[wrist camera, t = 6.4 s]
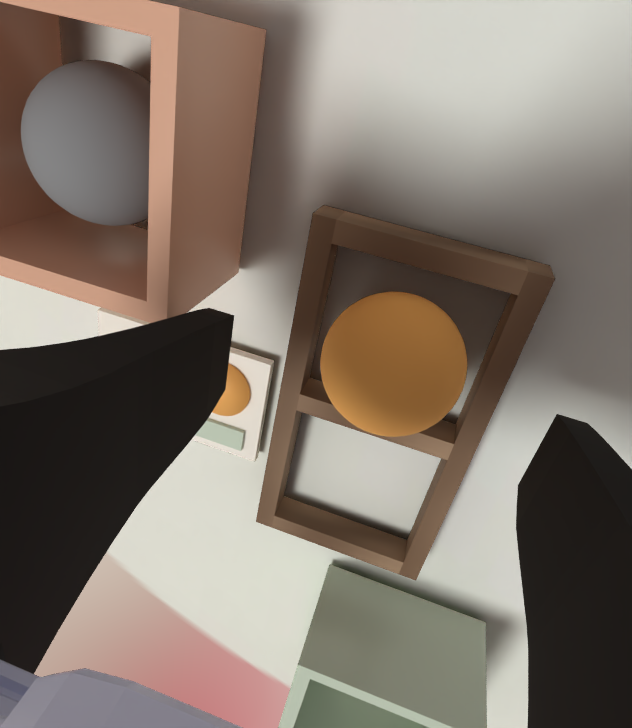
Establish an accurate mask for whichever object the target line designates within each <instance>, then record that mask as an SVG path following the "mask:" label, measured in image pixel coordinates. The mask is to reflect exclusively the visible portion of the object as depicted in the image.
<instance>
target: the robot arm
mask: <svg viewBox="0 0 632 728" xmlns="http://www.w3.org/2000/svg"><path fill="white" fill-rule="evenodd" d="M233 321H234V315H230V314H227V313H224V312H221V311H217V310H214V309H211V308H207V309H201V310H196V311H192V312H189V313H185V314H181V315H178V316H174V317H171V318H167V319H163V320H160V321H156V322H153V323H149V324H146V325H142V326H138V327H135V328H131V329H126V330H122V331H118V332H114V333H110V334H105V335H101V336H97V337H93V338H88V339H83V340H77V341H72V342H66V343H59V344H53V345H46V346H39V347H30V348H19V349H7V350H0V728H242V727H240V726H238V725H235V724H233V723H230V722H228V721H226V720H223V719H221V718H218V717H216V716H214V715H212V714H209V713H207V712H205V711H202V710H200V709H198V708H195V707H193V706H190V705H188V704H186V703H183V702H181V701H179V700H176V699H174V698H172V697H169V696H167V695H165V694H162V693H160V692H157V691H155V690H153V689H150V688H148V687H146V686H143V685H141V684H139V683H136V682H134V681H130V680H127V679H123V678H119V677H116V676H111V675H108V674H104V673H101V672H97V671H93V670H89V669H86V668H84V669H78V670H73V671H68V672H62V673H56V674H52V675H48V676H44V677H39V676H37V675H34V672H35V671H36V669H37V667H38V665H39V663H40V662H41V660H42V658H43V656H44V655H45V653H46V651H47V649H48V648H49V646H50V644H51V642H52V640H53V639H54V637H55V635H56V633H57V632H58V630H59V628H60V627H61V625H62V623H63V622H64V620H65V618H66V616H67V615H68V613H69V612H70V610H71V608H72V607H73V605H74V603H75V601H76V600H77V598H78V597H79V595H80V593H81V592H82V590H83V588H84V586H85V585H86V583H87V581H88V580H89V578H90V577H91V575H92V574H93V572H94V571H95V569H96V567H97V566H98V564H99V563H100V561H101V560H102V558H103V556H104V555H105V553H106V552H107V550H108V548H109V547H110V545H111V544H112V542H113V541H114V539H115V538H116V536H117V535H118V533H119V532H120V530H121V529H122V527H123V526H124V524H125V523H126V521H127V520H128V518H129V517H130V515H131V514H132V512H133V511H134V509H135V508H136V506H137V505H138V504H139V502H140V501H141V500H142V498H143V497H144V496H145V494H146V493H147V492H148V491H149V489H150V488H151V487H152V486H153V484H154V483H155V482H156V481H157V480H158V479H159V477H160V476H161V475H162V474H163V473H164V471H165V470H166V469H167V468H168V467H169V466H170V464H171V463H172V462H173V461H174V460H175V458H176V457H177V456H178V455H179V454H180V452H181V451H182V450H183V449H184V448H185V447H186V445H187V444H188V443H189V442H190V441H191V439H192V438H193V437H194V436H195V434H196V433H197V432H198V431H199V430H200V428H201V427H202V426H203V425H204V423H205V422H206V421H207V419H208V418H209V416H210V414H211V413H212V411H213V410H214V408H215V407H216V405H217V403H218V401H219V400H220V398H221V396H222V395H223V393H224V391H225V390H226V381H227V372H228V364H229V355H230V347H231V338H232V329H233ZM516 530H517V541H518V551H519V560H520V569H521V578H522V587H523V596H524V605H525V614H526V623H527V636H528V728H632V469H631V468H630V467H629V466H628V465H627V464H626V463H625V462H624V460H623V459H622V458H621V457H620V456H619V455H618V454H617V453H616V452H615V451H614V450H613V448H612V447H611V446H610V445H609V444H608V443H607V442H606V441H605V440H604V439H603V438H602V437H601V436H600V435H599V434H598V433H597V432H596V431H595V430H594V429H593V428H592V427H591V426H590V425H589V424H588V423H585V422H581V421H578V420H575V419H572V418H568V417H565V416H562V415H559V414H557V415H556V417H555V419H554V420H553V422H552V424H551V426H550V428H549V430H548V431H547V433H546V435H545V437H544V439H543V441H542V442H541V444H540V446H539V448H538V450H537V452H536V453H535V455H534V457H533V459H532V461H531V463H530V464H529V466H528V468H527V470H526V472H525V474H524V475H523V477H522V479H521V481H520V483H519V485H518V496H517V517H516Z"/></svg>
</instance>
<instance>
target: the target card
mask: <svg viewBox="0 0 632 728" xmlns="http://www.w3.org/2000/svg"><path fill="white" fill-rule="evenodd" d="M146 324H149V322H146V321H143V320H139V319H136V318H133V317H130V316H127V315H124V314H121V313H117V312H114V311H111V310H108V309H105V308H102V307H101V308H100V309H98V336H101V335H105V334H110V333H114V332H118V331H122V330H126V329H131V328H135V327H138V326H142V325H146ZM273 365H274V360H270V359H267V358H264V357H261V356H258V355H255V354H251V353H248V352H245V351H242V350H239V349H236V348H233V347H230V355H229V364H228V372H227V381H226V390H225V391H224V393H223V395H222V396H221V398H220V400H219V401H218V403H217V405H216V407H215V408H214V410H213V411H212V413H211V414H210V416H209V418H208V419H207V421H206V422H205V423H204V425H203V426H202V427H201V428H200V430H199V431H198V432H197V433H196V434H195V436H194V437H193V438H192V439H191V440H194V441H197V442H199V443H202V444H205V445H208V446H211V447H214V448H217V449H219V450H222V451H225V452H228V453H231V454H234V455H236V456H239V457H242V458H245V459H248V460H251V461H254V462H255V460H256V459H257V457H258V453H259V447H260V441H261V435H262V429H263V424H264V418H265V412H266V406H267V400H268V394H269V388H270V383H271V377H272V371H273Z"/></svg>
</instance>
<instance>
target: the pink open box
mask: <svg viewBox="0 0 632 728" xmlns="http://www.w3.org/2000/svg"><path fill="white" fill-rule="evenodd" d="M59 15H60V16H64V17H69V18H73V19H77V20H82V21H86V22H90V23H95V24H99V25H103V26H108V27H112V28H117V29H121V30H125V31H130V32H134V33H138V34H143V35H147V36H151V83H150V142H149V202H148V230H147V229H143V228H140V227H137V226H133V225H121V226H109V225H102V224H96V223H92V222H89V221H86V220H84V219H81V218H79V217H77V216H75V215H73V214H71V213H69V212H68V211H66V210H65V209H63V208H62V207H61V206H59V205H58V204H57V203H55V202H54V201H53V200H52V199H51V198H50V197H49V196H48V195H47V194H46V193H45V192H44V190H43V189H42V188H41V187H40V185H39V184H38V182H37V181H36V179H35V178H34V176H33V174H32V172H31V170H30V168H29V166H28V164H27V161H26V158H25V155H24V151H23V147H22V140H21V120H22V114H23V111H24V108H25V105H26V102H27V99H28V97H29V95H30V93H31V92H32V90H33V89H34V88H35V86H36V85H37V84H38V82H39V81H40V80H41V79H43V78H44V77H45V76H46V75H47V74H49V73H50V72H52V71H53V70H55V69H56V68H58V67H61V66H62V53H61V37H60V21H59ZM265 37H266V29H262V28H258V27H254V26H250V25H246V24H243V23H239V22H235V21H231V20H227V19H223V18H220V17H216V16H212V15H208V14H204V13H200V12H197V11H193V10H189V9H185V8H181V7H177V6H173V5H168V4H163V3H159V2H154V1H150V0H0V275H1V276H4V277H7V278H11V279H14V280H17V281H20V282H23V283H26V284H29V285H33V286H36V287H39V288H42V289H45V290H48V291H51V292H55V293H58V294H61V295H64V296H67V297H70V298H73V299H77V300H80V301H83V302H86V303H89V304H92V305H95V306H99V307H102V308H105V309H108V310H111V311H114V312H117V313H121V314H124V315H127V316H130V317H133V318H136V319H139V320H143V321H146V322H149V323H153V322H156V321H160V320H163V319H167V318H171V317H174V316H178V315H181V314H185V313H187V312H188V311H189V310H191V309H192V308H193V307H195V306H196V305H197V304H198V303H200V302H201V301H202V300H204V299H205V298H206V297H208V296H209V295H210V294H211V293H213V292H214V291H215V290H217V289H218V288H219V287H221V286H222V285H223V284H224V283H226V282H227V281H228V280H230V279H231V278H232V277H234V276H235V275H236V274H237V273H238V271H239V263H240V254H241V245H242V237H243V228H244V219H245V211H246V202H247V193H248V185H249V176H250V167H251V159H252V150H253V141H254V133H255V124H256V115H257V107H258V98H259V89H260V81H261V72H262V63H263V55H264V46H265Z"/></svg>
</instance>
